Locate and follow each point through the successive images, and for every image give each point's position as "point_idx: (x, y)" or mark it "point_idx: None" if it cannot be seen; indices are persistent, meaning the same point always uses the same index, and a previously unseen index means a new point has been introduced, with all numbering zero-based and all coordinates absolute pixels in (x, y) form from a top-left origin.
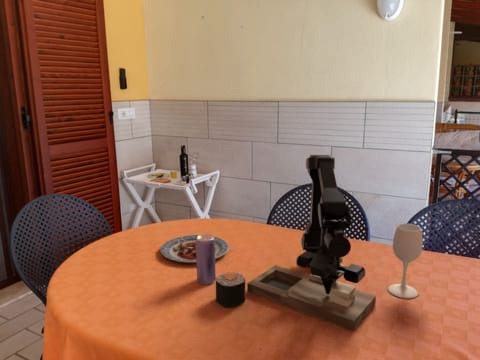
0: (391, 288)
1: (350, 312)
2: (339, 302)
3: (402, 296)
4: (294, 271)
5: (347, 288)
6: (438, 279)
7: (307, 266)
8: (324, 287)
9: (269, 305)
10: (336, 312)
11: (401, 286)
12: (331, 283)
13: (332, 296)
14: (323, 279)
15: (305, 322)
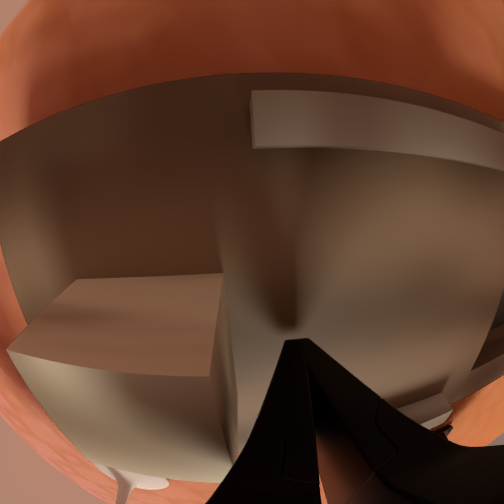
0: (148, 477)
1: (30, 223)
2: (133, 285)
3: None
4: (493, 379)
5: (90, 433)
6: (128, 499)
7: (435, 432)
8: (345, 370)
9: (497, 99)
10: (86, 137)
11: (125, 484)
12: (254, 451)
13: (201, 303)
14: (400, 445)
15: (289, 16)
